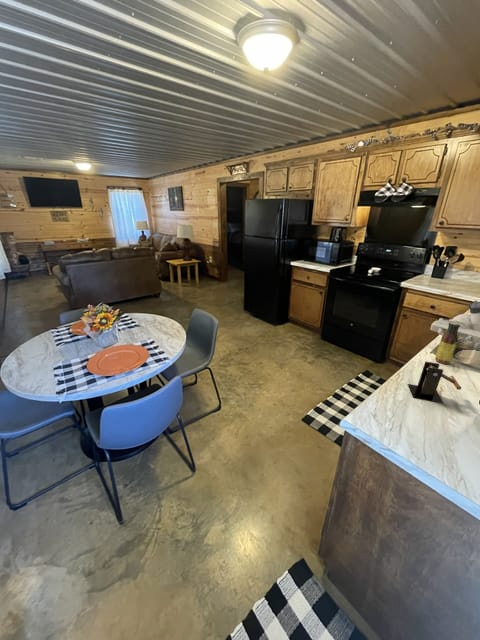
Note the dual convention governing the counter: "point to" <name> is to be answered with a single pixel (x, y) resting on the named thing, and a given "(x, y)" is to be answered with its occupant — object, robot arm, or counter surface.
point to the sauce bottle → (448, 344)
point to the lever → (448, 379)
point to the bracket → (427, 384)
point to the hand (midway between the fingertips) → (452, 336)
